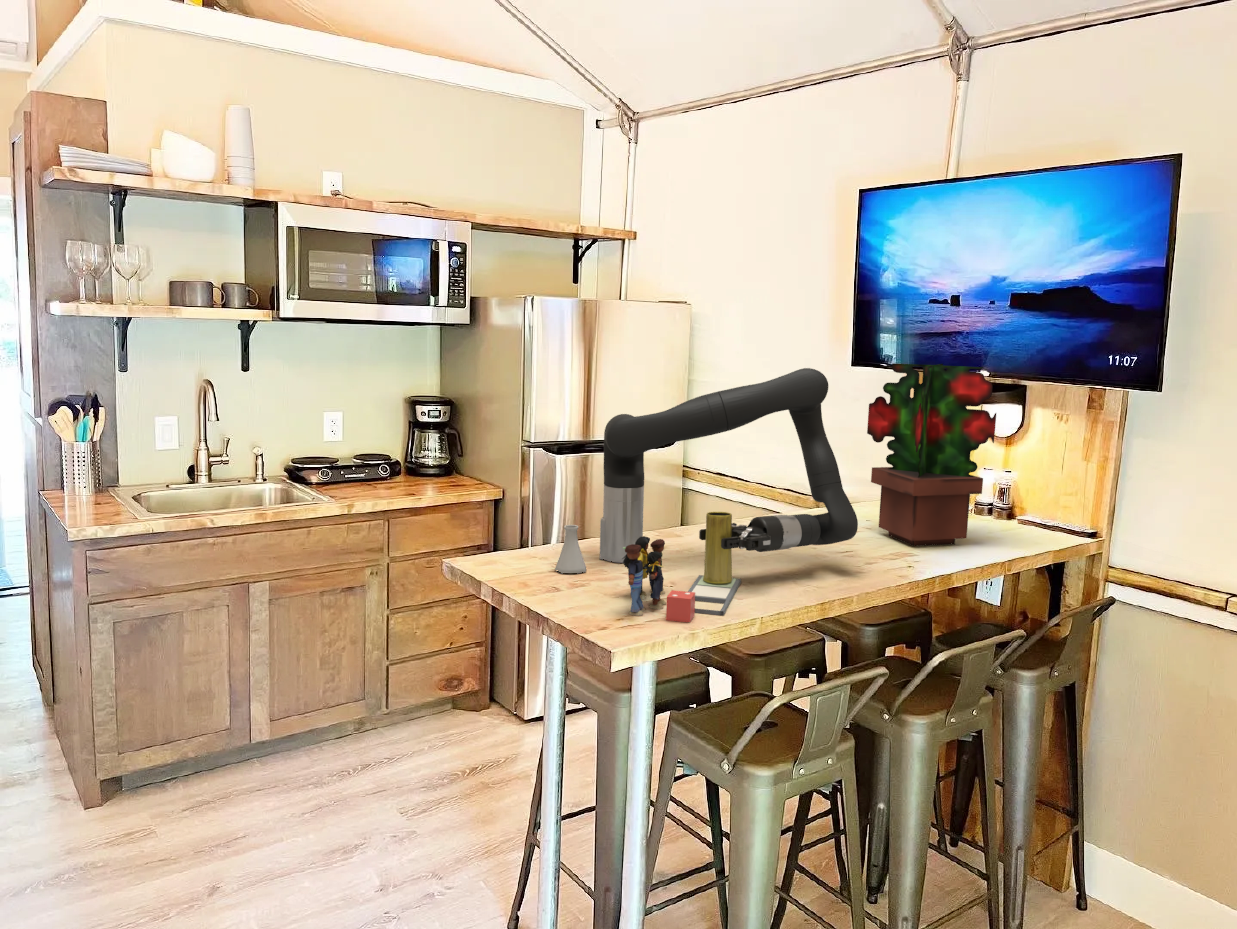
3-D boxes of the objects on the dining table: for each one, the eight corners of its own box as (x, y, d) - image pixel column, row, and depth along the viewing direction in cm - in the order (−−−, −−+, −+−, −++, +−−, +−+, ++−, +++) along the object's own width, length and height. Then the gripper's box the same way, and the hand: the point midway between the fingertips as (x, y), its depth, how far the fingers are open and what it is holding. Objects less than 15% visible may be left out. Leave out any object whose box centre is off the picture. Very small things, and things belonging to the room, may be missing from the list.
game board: (676, 610, 184) (677, 606, 184) (699, 578, 207) (699, 574, 207) (723, 615, 182) (723, 611, 182) (740, 582, 205) (741, 578, 205)
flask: (590, 574, 209) (591, 529, 207) (558, 576, 207) (558, 530, 205) (582, 565, 216) (583, 522, 214) (551, 567, 214) (551, 523, 212)
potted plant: (933, 528, 262) (946, 362, 255) (985, 548, 241) (1000, 367, 234) (860, 532, 256) (871, 362, 249) (907, 552, 235) (920, 367, 228)
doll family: (671, 621, 178) (673, 551, 176) (622, 620, 178) (624, 550, 176) (663, 586, 201) (665, 523, 199) (620, 585, 201) (621, 523, 199)
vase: (735, 583, 199) (737, 515, 198) (707, 584, 198) (708, 516, 197) (727, 576, 205) (729, 510, 204) (699, 577, 204) (701, 511, 203)
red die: (666, 620, 178) (666, 596, 178) (671, 613, 183) (671, 590, 182) (690, 622, 177) (690, 598, 176) (694, 615, 181) (695, 592, 181)
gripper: (756, 509, 213) (693, 514, 205) (796, 522, 200) (730, 528, 193) (754, 542, 214) (692, 549, 206) (794, 557, 201) (729, 565, 194)
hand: (711, 539), depth 200 cm, fingers open, 8 cm apart
